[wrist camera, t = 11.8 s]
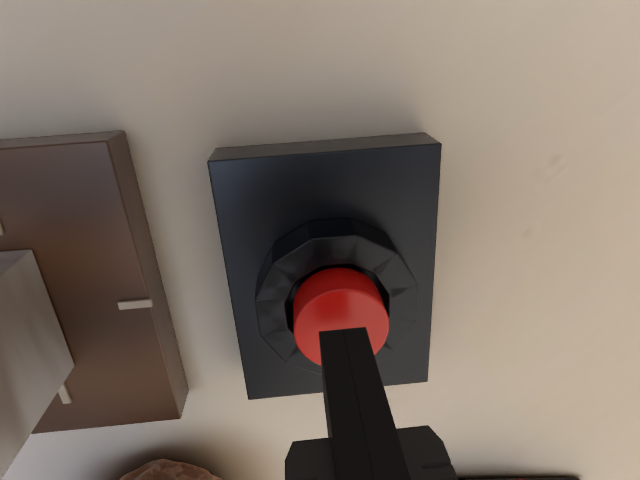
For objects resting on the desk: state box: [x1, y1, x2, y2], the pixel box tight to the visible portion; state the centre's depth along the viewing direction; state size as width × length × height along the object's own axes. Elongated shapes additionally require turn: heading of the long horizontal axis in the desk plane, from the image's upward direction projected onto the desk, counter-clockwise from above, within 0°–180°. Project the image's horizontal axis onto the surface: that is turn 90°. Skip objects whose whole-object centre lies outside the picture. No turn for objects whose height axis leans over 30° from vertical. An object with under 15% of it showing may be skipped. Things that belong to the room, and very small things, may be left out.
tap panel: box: [0, 131, 189, 434], centre depth 19 cm, size 14×10×2 cm
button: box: [293, 267, 389, 365], centre depth 17 cm, size 4×4×2 cm
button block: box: [207, 133, 442, 400], centre depth 19 cm, size 12×9×4 cm
